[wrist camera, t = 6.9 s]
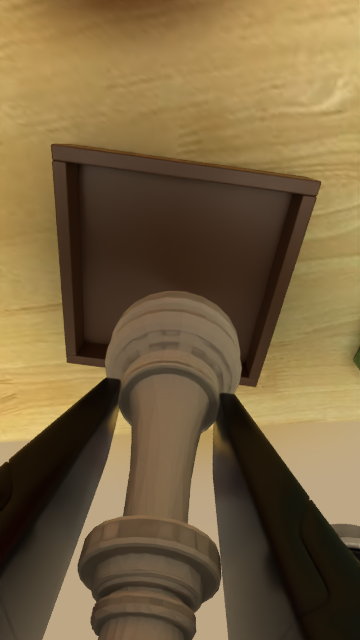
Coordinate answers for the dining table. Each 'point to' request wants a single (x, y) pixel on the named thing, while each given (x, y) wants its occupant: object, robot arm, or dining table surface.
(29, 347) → the dining table surface
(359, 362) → the green block
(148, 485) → the chess piece
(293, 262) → the walnut tray
